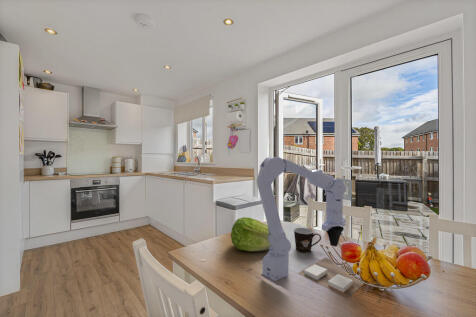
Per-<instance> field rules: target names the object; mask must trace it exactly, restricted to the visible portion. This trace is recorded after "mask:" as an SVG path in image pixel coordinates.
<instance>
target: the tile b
mask: <svg viewBox="0 0 476 317" xmlns="http://www.w3.org/2000/svg"><path fill="white" fill-rule="evenodd" d="M352 285H353V280H351V279H349V278H346V277H344V276H342V275H339V274H337V275H336V276H334V277H333V278H332V279H330V280H329V281H328V286H329V287H331V288H333V289H335V290H338V291H340V292H342V293H344V292H345V291H346V290H348V289H349V288H350V287H351V286H352Z"/></svg>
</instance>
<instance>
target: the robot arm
mask: <svg viewBox="0 0 476 317" xmlns="http://www.w3.org/2000/svg"><path fill="white" fill-rule="evenodd" d="M259 167H260V168H259V170H258V171H259V172H258V174H257V179H256V186H257V191H258V193H259V198H260V200H261V204H262V209H263V212H264V216H265V220H266V223H267V224H266V225H268V241H269V243H270V247H269V249H268V251H267V254H265V255H264V256H263V258H262V273H261V274H260V277H261V276H262V277H263V278H264V279H266V280H267V281H270V282H271V283H272V284H274V285H276V286H279V283H277V280H280V279H282V278H286V277H288V275H289V260H290V259H289V256H290V254H289V253H290V251H291V248H292V243H291V240H289V239H288V238H287V235H286V232H285V230H284V228H283V226H282V222H281V218H280V215H279V214H280V213H279V211H278V207H277V203H276V200H275V194H274V192H273V188H272V184H273V182H274V181H275V179H276V178H278V177H279V176H280V175H282V174H283V173H292V174H295V175H297V176H300V177H302V178H305V179H307V181H308V183H309V184H310V185H313V186H315V187H317V188H320V189H322V190H324V191H325V193H326V199H325V200H326V202H325V204H326V207H325V210H326V211H325V221H324V222H323V223H322V224H321V230H322V231H324V232H326V233H327V234H326V235H327V236H328V240H329V244H330V246H332V247H335V248H336V247H337V246H338V245H339V240H340V237H341V234H342V233H343V232H344V230H345V229H344V227H345V226H346V225H347V224H346V218H344V217H343V205H344V204H343V199H344V194H345V193H346V191H347V186H346V184H345V182H344V181H343V180H342V179H339V178H334V175H332V174H327V173H324V172H323V170H322V169H313V170H310V169H308V168H306V167H304V166H302V165H300V164H298V163H296V162H294V161H291V160H288V159H286V158H285V159H284V158H282V157H279V156H268V157H266V158H265V159H264V160H263V161H262V162H261V164H260V165H259ZM275 281H276V282H275Z"/></svg>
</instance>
